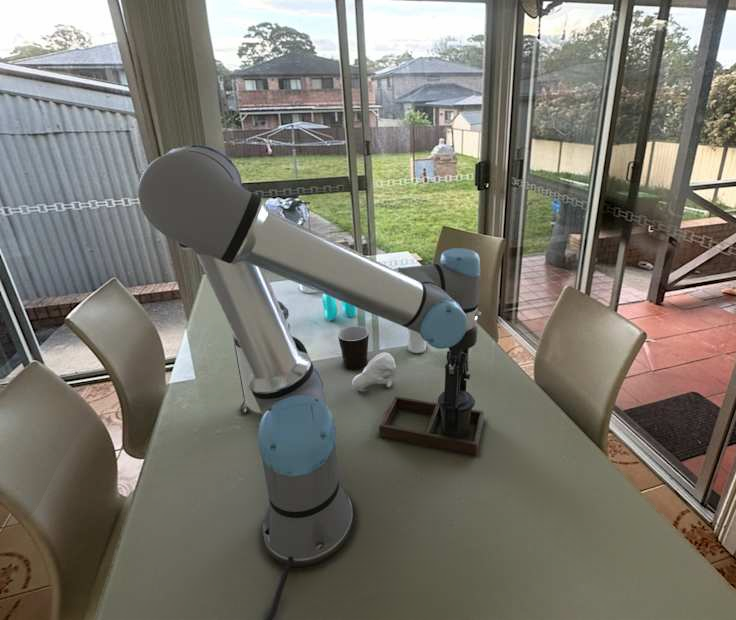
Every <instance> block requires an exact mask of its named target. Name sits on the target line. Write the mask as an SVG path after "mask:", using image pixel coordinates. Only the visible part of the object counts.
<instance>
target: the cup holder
mask: <svg viewBox="0 0 736 620" xmlns="http://www.w3.org/2000/svg"><path fill="white" fill-rule="evenodd" d="M391 401H392V402H391V403H390V405H389V407H388V409H387V411H386V413H385V414H384V417H383V419H382V420H381V422H380V424H379V437H380V438H385V439H391V440H394V441H398V442H399V441H401V442H404V443H411V444H414V445H420V446H425V447H430V448H435V449H440V450H444V451H450V452H455V453H459V454H464V455H469V456H475V457H477V454H478V449H479V444H480V441H481V434H482V430H483V425H484V421H485V420H484V418H485V411H484V410H478V409H473V408H472V411H471V416H470V422H471V423H476V429H475V434H474V437H473V441H472V440H468V439H464V440H463V439H458V438H452V437H447V436H444V435H443V434H442V435H441V434H436V433H434V432H435V429H436V426H437V423H438V420H439V417H441V409H440V406H439V404H438V402H433V401H432V402H431V401H426V400H420V399H416V398H415V399H414V398H409V397H403V396H397V395H396V396H394V398H393V399H392V400H391ZM398 409H399V410H404V411H410V412H415V413H419V414H426V415H431V418H430V420H429V423H428V425H427V428H426V431H421V430H416V429H411V428H404V427H400V426H396V425H391V423H392V420H393V419H394V417H395V415H396V413H397V410H398ZM470 422H469V423H470Z"/></svg>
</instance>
